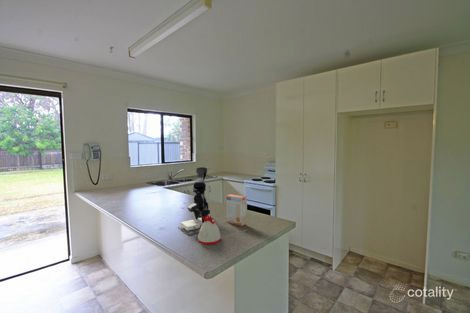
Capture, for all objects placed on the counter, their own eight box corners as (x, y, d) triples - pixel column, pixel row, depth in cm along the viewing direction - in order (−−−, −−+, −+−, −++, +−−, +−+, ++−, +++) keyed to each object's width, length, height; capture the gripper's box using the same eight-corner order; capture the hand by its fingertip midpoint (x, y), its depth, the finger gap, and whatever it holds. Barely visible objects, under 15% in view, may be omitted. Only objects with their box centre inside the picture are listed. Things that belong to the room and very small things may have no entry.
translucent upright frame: (246, 224, 159) (246, 196, 158) (241, 227, 154) (241, 197, 153) (231, 220, 167) (231, 193, 166) (226, 222, 163) (226, 195, 162)
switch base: (205, 221, 164) (205, 220, 164) (217, 228, 152) (217, 226, 152) (177, 228, 151) (177, 226, 151) (188, 236, 138) (187, 234, 138)
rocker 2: (205, 219, 162) (205, 216, 162) (214, 224, 152) (214, 220, 152) (194, 222, 157) (194, 218, 157) (203, 227, 147) (203, 223, 147)
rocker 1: (192, 222, 156) (192, 219, 156) (200, 227, 146) (200, 224, 146) (180, 225, 150) (180, 221, 150) (188, 230, 140) (188, 227, 140)
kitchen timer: (207, 233, 142) (207, 211, 142) (225, 238, 136) (224, 214, 135) (193, 241, 130) (192, 217, 130) (211, 247, 124) (211, 221, 123)
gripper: (183, 198, 154) (183, 220, 155) (195, 204, 139) (195, 227, 140) (197, 196, 161) (197, 217, 162) (210, 201, 146) (210, 224, 147)
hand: (199, 221), depth 152 cm, fingers open, 9 cm apart
